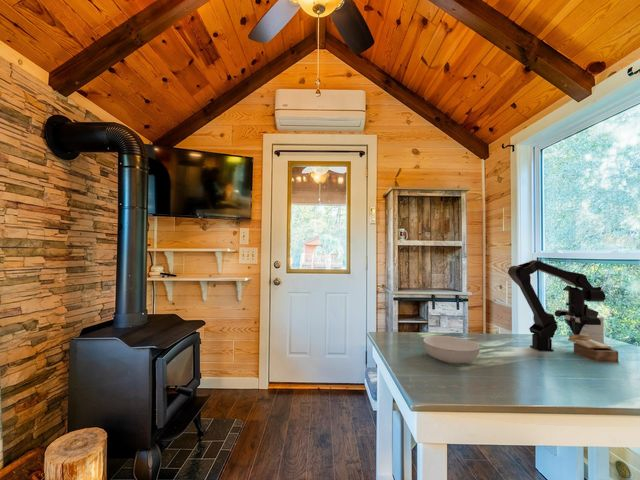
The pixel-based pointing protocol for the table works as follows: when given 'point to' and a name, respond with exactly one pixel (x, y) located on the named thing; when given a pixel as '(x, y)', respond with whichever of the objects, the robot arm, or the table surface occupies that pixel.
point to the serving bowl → (451, 349)
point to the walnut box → (596, 353)
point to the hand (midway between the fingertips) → (576, 336)
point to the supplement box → (594, 331)
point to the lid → (586, 341)
